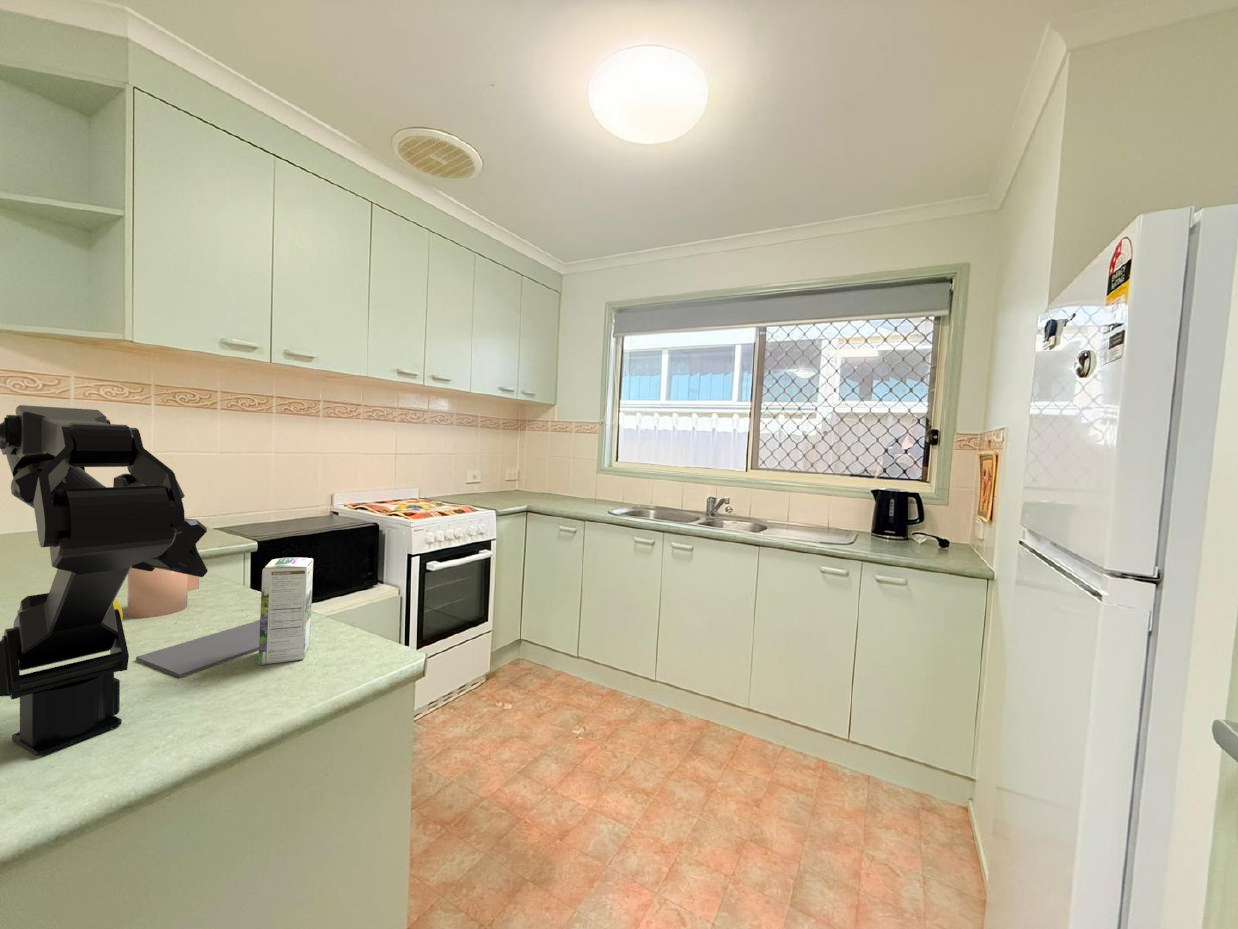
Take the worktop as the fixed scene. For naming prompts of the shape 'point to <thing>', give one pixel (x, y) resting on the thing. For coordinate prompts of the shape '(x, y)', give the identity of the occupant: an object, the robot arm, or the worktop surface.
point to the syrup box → (285, 610)
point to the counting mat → (205, 651)
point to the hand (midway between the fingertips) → (178, 571)
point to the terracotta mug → (158, 592)
